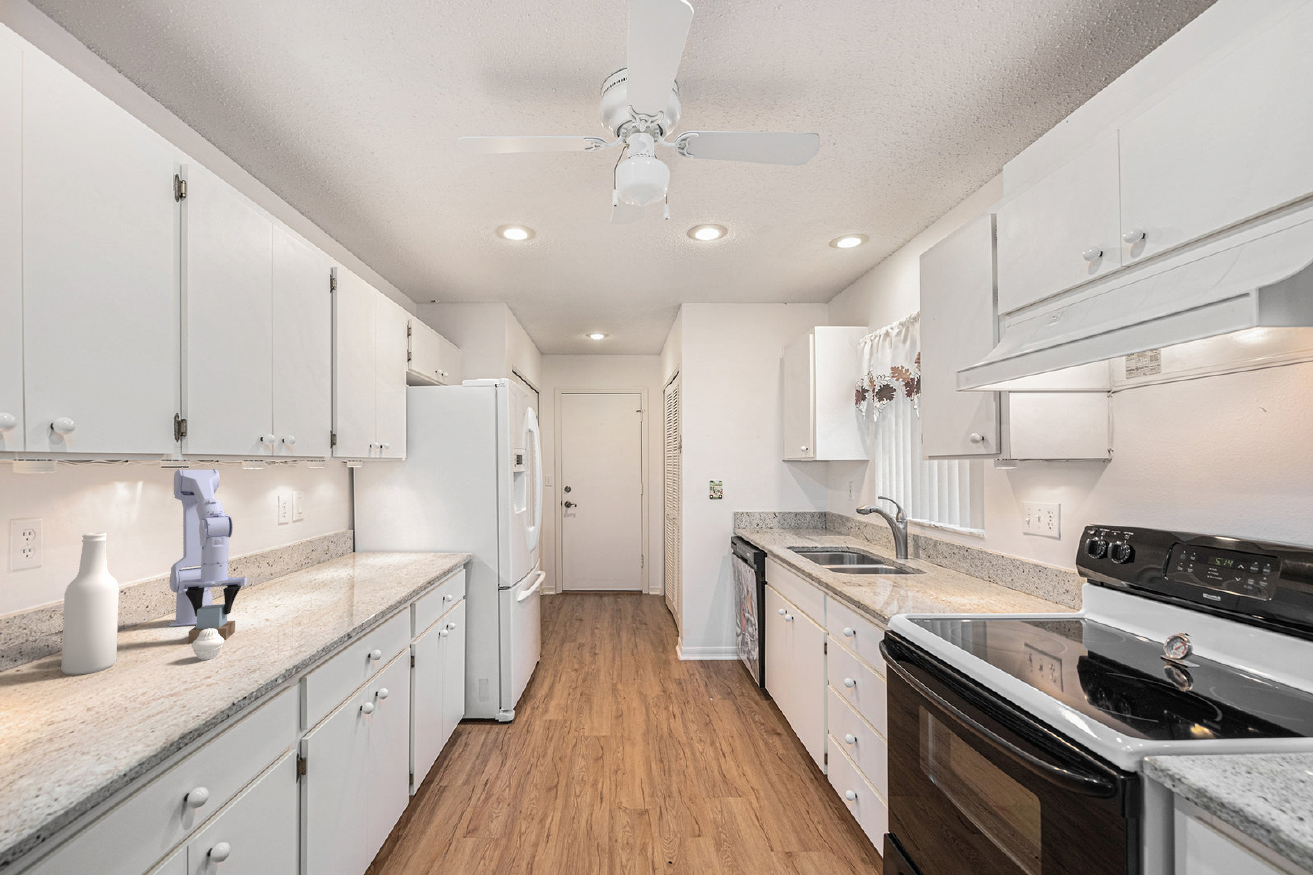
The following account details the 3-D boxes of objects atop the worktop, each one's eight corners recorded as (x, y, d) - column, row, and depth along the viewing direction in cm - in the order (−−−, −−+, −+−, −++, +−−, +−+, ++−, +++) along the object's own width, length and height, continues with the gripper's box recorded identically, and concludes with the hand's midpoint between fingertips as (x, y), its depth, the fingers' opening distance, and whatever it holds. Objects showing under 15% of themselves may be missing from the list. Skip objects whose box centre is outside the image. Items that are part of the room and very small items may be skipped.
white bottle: (124, 665, 133) (130, 532, 135) (74, 678, 125) (80, 536, 126) (102, 660, 137) (107, 530, 138) (52, 673, 128) (58, 534, 130)
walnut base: (199, 636, 157) (199, 623, 157) (234, 633, 160) (235, 620, 160) (188, 645, 149) (188, 631, 150) (225, 641, 152) (226, 628, 153)
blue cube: (204, 624, 156) (205, 605, 156) (226, 622, 157) (227, 604, 158) (196, 629, 151) (197, 609, 151) (219, 627, 153) (219, 608, 153)
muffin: (230, 654, 141) (231, 624, 141) (207, 663, 135) (208, 632, 135) (208, 653, 142) (208, 623, 142) (184, 661, 136) (185, 631, 136)
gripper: (174, 566, 150) (172, 620, 149) (240, 563, 154) (239, 616, 153) (187, 562, 156) (185, 613, 156) (250, 559, 161) (249, 609, 160)
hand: (213, 614), depth 155 cm, fingers open, 6 cm apart
